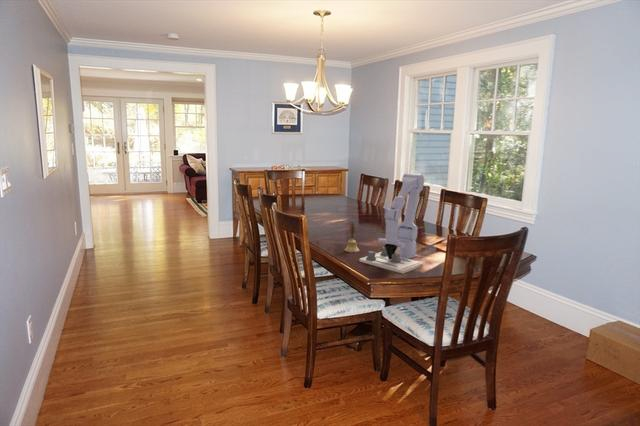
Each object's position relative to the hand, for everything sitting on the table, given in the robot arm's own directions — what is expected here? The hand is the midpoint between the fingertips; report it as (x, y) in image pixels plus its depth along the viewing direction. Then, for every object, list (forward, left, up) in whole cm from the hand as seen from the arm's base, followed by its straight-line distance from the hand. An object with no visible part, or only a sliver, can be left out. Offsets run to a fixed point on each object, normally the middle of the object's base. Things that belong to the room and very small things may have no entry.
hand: (390, 258), depth 223 cm
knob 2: (-6, -7, -1) cm, 10 cm away
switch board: (0, +1, -2) cm, 2 cm away
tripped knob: (0, +3, -1) cm, 3 cm away
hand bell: (-4, -28, -3) cm, 29 cm away
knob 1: (+6, -7, -1) cm, 10 cm away
